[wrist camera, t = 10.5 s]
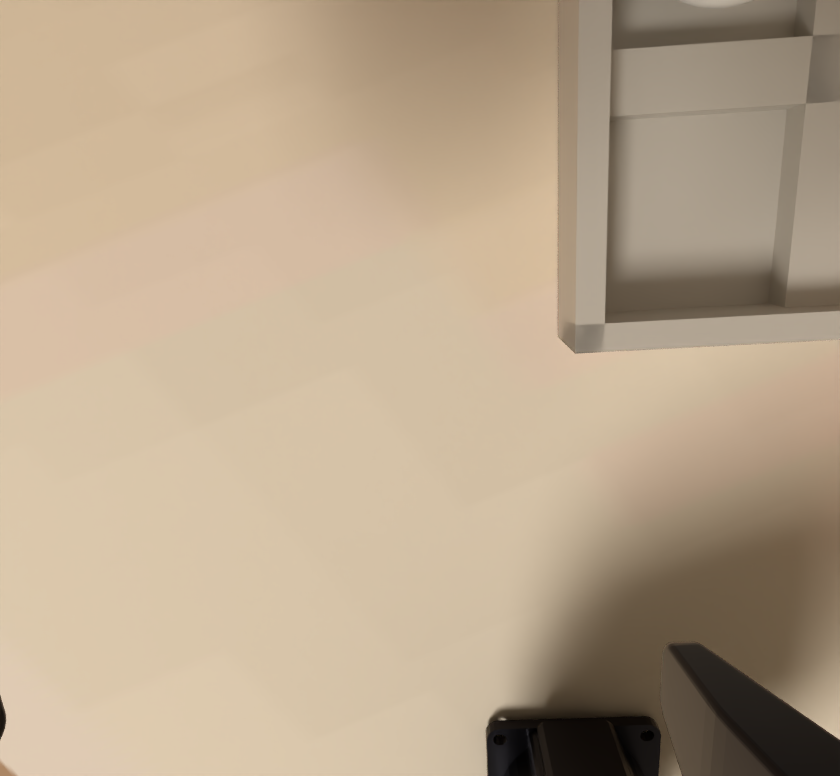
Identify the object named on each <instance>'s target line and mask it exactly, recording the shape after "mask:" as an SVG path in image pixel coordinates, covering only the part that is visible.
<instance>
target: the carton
mask: <svg viewBox="0 0 840 776" xmlns="http://www.w3.org/2000/svg"><path fill="white" fill-rule="evenodd" d="M558 337H559V338H560V339H561V340H562V341H563V342H564V343H565V344H566V345H567V346H568V347H569V348H570V349H571V350H572V351H573V352H574V353H593V352H613V351H632V350H651V349H671V348H690V347H709V346H728V345H748V344H767V343H786V342H806V341H825V340H840V0H754V1H752V2H749V3H746V4H742V5H739V6H735V7H729V8H723V9H707V8H700V7H694V6H691V5H688V4H685V3H682V2H680V1H678V0H559V22H558Z"/></svg>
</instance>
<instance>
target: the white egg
mask: <svg viewBox="0 0 840 776" xmlns="http://www.w3.org/2000/svg"><path fill="white" fill-rule="evenodd" d="M678 1H680V2H682V3H685V4H688V5H691V6H694V7H700V8H707V9H723V8H729V7H735V6H739V5H742V4H746V3H749V2H752V1H754V0H678Z"/></svg>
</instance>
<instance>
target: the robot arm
mask: <svg viewBox="0 0 840 776" xmlns="http://www.w3.org/2000/svg"><path fill="white" fill-rule="evenodd" d="M660 702H661V708H662V713H663V716H664V719H665V723H666V726H667V729H668V732H669V735H670V738H671V741H672V744H673V748H674V751H675V754H676V757H677V760H678V763H679V766H680V770H681V773H682V776H840V740H839V739H838V738H836V737H835V736H833V735H832V734H830V733H829V732H827V731H826V730H825V729H823V728H822V727H820V726H819V725H817V724H816V723H814V722H813V721H812V720H810V719H809V718H807V717H806V716H804V715H803V714H801V713H800V712H799V711H797V710H796V709H794V708H793V707H791V706H790V705H788V704H787V703H785V702H784V701H783V700H781V699H780V698H778V697H777V696H775V695H774V694H772V693H771V692H770V691H768V690H767V689H765V688H764V687H762V686H761V685H759V684H758V683H757V682H755V681H754V680H752V679H751V678H749V677H748V676H746V675H745V674H744V673H742V672H741V671H739V670H738V669H736V668H735V667H733V666H732V665H731V664H729V663H728V662H726V661H725V660H723V659H722V658H720V657H719V656H718V655H716V654H715V653H713V652H712V651H710V650H709V649H707V648H706V647H704V646H703V645H701V644H700V643H697V642H670V643H668V644H666V645H665V646H664V649H663V653H662V669H661V687H660ZM5 724H6V713H5V710H4V706H3V703H2V700H1V696H0V739H1V737H2V735H3V732H4V729H5ZM646 730H649V731H647V732H644V733H643V731H646ZM499 734H501V735H503V736H500V737H498V736H496V735H499ZM660 740H661V734H660V730H659V728H658V726H657V723H656V722H655V721H654V719H652V718H650V717H645V716H641V717H607V718H573V719H539V720H505V721H494V722H492V723H490V724H489V725H488V727H487V728H486V750H487V776H658V773H659V756H660Z"/></svg>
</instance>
